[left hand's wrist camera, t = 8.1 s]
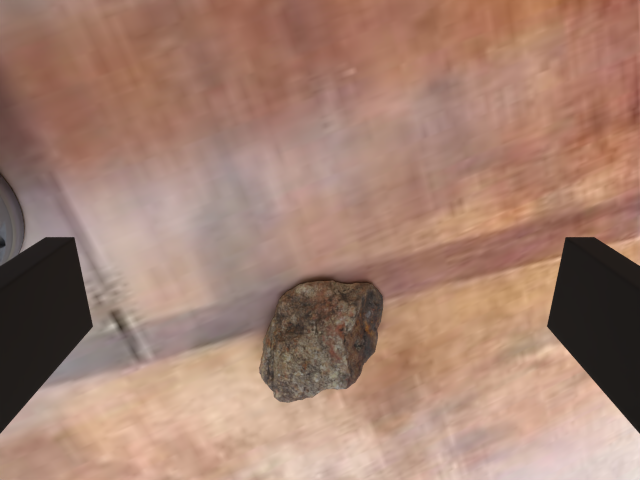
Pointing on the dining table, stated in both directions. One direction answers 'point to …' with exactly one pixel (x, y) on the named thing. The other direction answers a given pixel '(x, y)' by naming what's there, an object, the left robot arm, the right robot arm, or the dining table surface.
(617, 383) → the left robot arm
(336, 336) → the rock
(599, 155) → the dining table surface
